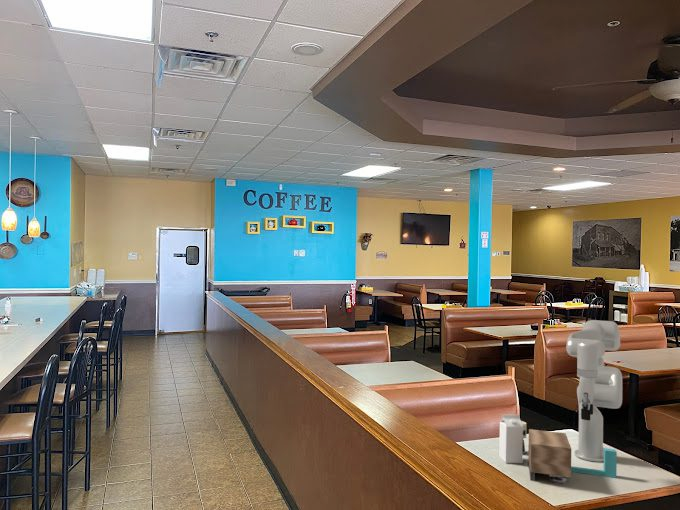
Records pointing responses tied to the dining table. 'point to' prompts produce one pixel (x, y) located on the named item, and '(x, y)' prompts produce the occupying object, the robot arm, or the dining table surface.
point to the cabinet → (549, 453)
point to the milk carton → (511, 439)
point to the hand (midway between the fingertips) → (587, 416)
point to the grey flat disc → (557, 478)
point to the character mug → (524, 434)
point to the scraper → (609, 465)
